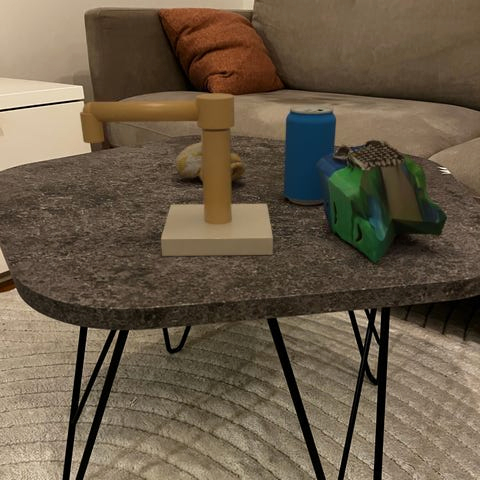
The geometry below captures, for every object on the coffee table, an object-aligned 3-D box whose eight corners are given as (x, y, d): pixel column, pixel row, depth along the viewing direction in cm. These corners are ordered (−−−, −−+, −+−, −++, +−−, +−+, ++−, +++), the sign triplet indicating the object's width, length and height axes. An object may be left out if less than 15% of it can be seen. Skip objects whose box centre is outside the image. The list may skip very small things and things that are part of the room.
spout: (234, 136, 66) (233, 93, 64) (234, 143, 62) (234, 98, 60) (87, 137, 66) (82, 94, 63) (79, 145, 62) (73, 100, 60)
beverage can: (338, 197, 82) (345, 107, 77) (316, 209, 78) (322, 114, 72) (298, 190, 86) (301, 103, 80) (274, 201, 81) (276, 109, 75)
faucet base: (162, 256, 64) (153, 140, 58) (171, 219, 74) (165, 119, 69) (272, 255, 64) (275, 139, 58) (266, 218, 74) (268, 118, 69)
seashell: (219, 128, 96) (251, 141, 83) (226, 165, 99) (258, 183, 86) (161, 142, 94) (185, 157, 81) (169, 179, 97) (194, 200, 84)
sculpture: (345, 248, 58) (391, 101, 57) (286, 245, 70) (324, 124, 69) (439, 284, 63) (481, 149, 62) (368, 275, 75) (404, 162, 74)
